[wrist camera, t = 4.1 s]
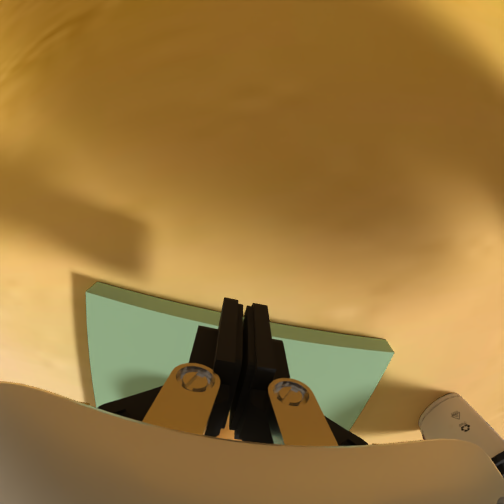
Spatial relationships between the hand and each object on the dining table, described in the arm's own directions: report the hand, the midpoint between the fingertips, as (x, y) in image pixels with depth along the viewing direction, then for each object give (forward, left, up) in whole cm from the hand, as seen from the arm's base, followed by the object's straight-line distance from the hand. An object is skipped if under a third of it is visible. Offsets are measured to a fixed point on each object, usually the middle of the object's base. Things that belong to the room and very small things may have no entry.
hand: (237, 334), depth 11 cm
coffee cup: (+9, +20, -5) cm, 22 cm away
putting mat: (+16, +1, -5) cm, 17 cm away
